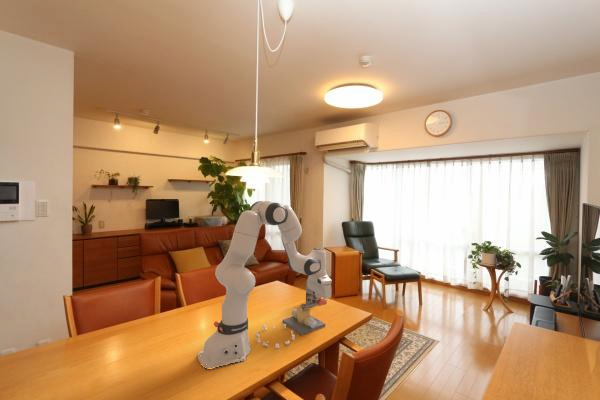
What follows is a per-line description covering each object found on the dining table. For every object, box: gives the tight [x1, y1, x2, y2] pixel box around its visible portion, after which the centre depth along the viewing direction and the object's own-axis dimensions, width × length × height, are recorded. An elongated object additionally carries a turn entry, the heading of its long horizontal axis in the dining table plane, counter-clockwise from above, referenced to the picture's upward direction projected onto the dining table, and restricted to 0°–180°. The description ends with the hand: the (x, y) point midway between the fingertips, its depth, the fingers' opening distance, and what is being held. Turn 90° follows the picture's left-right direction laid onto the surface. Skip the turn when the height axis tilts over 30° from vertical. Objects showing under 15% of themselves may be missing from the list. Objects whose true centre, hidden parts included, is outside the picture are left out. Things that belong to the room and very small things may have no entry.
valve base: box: [282, 307, 326, 336], centre depth 148 cm, size 16×17×9 cm
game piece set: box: [255, 323, 296, 349], centre depth 135 cm, size 19×20×4 cm
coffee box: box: [305, 278, 316, 304], centre depth 175 cm, size 9×6×16 cm
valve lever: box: [300, 298, 328, 309], centre depth 151 cm, size 15×3×2 cm, turn 120°
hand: (318, 300), depth 156 cm, fingers closed
